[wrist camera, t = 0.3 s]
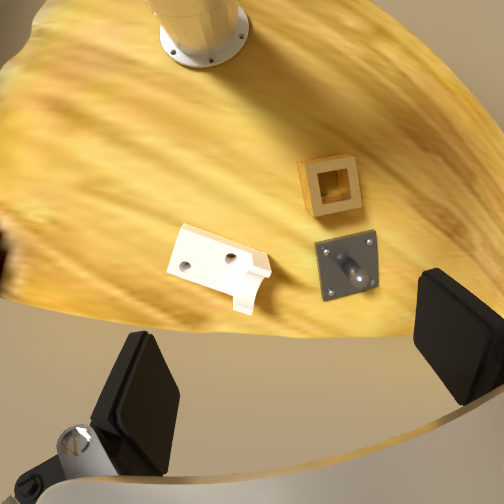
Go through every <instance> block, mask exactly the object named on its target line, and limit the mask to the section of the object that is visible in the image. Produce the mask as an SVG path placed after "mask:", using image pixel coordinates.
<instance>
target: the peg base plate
mask: <svg viewBox="0 0 504 504" xmlns="http://www.w3.org/2000/svg"><path fill="white" fill-rule="evenodd" d="M314 244H315V250H316V257H317V264H318V272H319V279H320V287H321V294H322V299H323V301H327V300H330V299H334V298H338V297H342V296H346V295H350V294H353V293H357V292H364V291H367V290H368V289H372V288H375V287H378V260H377V243H376V231H375V230H368V231H364V232H360V233H355V234H351V235H346V236H342V237H338V238H333V239H329V240H324V241H320V242H316V243H314Z"/></svg>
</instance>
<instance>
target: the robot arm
mask: <svg viewBox="0 0 504 504" xmlns="http://www.w3.org/2000/svg"><path fill="white" fill-rule="evenodd" d="M144 1H145V3H146V4H147V6H148V7H149V8H150V10H151V11H152V13H153V14H154V16H155V17H156V19H157V20H158V22H159V23H160V25H161V26H160V33H159V35H160V42H161V45H162V47H163V49H164V51H165V52H166V53H167V55H168V56H169V57H170V58H172V59H173V60H174V61H176V62H177V63H179V64H181V65H184V66H188V67H193V68H207V67H212V66H216V65H219V64H222V63H224V62H226V61H228V60H229V59H231V58H232V57H234V56H235V55H236V54H237V53H238V52H239V51H240V50H241V49H242V47H243V46H244V44H245V42H246V40H247V37H248V32H249V22H248V18H247V15H246V13H245V12H244V10H243V9H242V8H241V7H240V5H239V4H238V1H239V0H144ZM240 37H243V39H240ZM173 53H176V54H175V55H173ZM211 60H213V62H212V63H210V61H211ZM413 337H414V338H413V340H414V344H415V346H416V347H417V349H418V350H419V351H420V353H421V354H422V355H423V357H425V359H426V360H427V362H428V363H429V364H430V366H431V367H432V368H433V370H434V371H435V372H436V374H437V375H438V376H439V378H440V379H441V381H442V382H443V383H444V385H445V386H446V388H447V389H448V390H449V392H450V393H451V394H452V396H453V397H454V399H455V400H456V402H457V403H458V404H459V405H463V407H461V408H460V409H458V410H456V411H454V412H452V413H450V414H448V415H446V416H443V417H441V418H439V419H437V420H435V421H433V422H430V423H428V424H426V425H424V426H421V427H419V428H416V429H414V430H412V431H409V432H407V433H404V434H402V435H399V436H396V437H394V438H391V439H388V440H386V441H383V442H380V443H377V444H374V445H371V446H368V447H364V448H361V449H358V450H355V451H351V452H348V453H344V454H341V455H337V456H333V457H329V458H325V459H321V460H316V461H312V462H307V463H303V464H297V465H293V466H287V467H281V468H276V469H269V470H263V471H255V472H246V473H237V474H227V475H210V476H187V477H186V476H184V477H163V474H166V473H167V472H168V466H169V460H170V452H171V447H172V440H173V435H174V429H175V423H176V417H177V411H178V406H179V399H180V393H179V389H178V387H177V385H176V383H175V381H174V379H173V377H172V375H171V373H170V371H169V369H168V366H167V364H166V362H165V360H164V358H163V356H162V353H161V351H160V349H159V347H158V345H157V342H156V340H155V338H154V336H153V335H152V334H148V332H147V331H139V332H132V333H130V334H129V335H128V337H127V339H126V341H125V343H124V346H123V348H122V350H121V352H120V354H119V356H118V358H117V360H116V362H115V364H114V366H113V368H112V370H111V373H110V375H109V377H108V379H107V381H106V383H105V386H104V388H103V390H102V392H101V394H100V397H99V399H98V401H97V404H96V406H95V408H94V410H93V413H92V415H91V417H90V418H91V420H92V421H91V423H90V426H88V425H85V424H79V425H78V424H77V425H74V426H71V427H69V428H68V429H66V430H65V431H64V432H63V433H62V434H61V435H60V437H59V438H58V441H57V445H56V447H57V453H58V454H57V455H55V456H54V457H52V458H50V459H49V460H47V461H45V462H43V463H42V464H40V465H38V466H36V467H34V468H33V469H31V470H29V471H27V472H25V473H24V474H22V475H21V476H20V477H19V479H18V480H17V482H16V484H15V488H14V492H15V497H13V496H12V495H10V496H9V497H8V498H7V499H6V500H5V501H3V502H2V504H504V319H503V318H502V317H501V316H500V315H498V314H497V313H496V312H495V311H494V310H492V309H491V308H490V307H489V306H487V305H486V304H485V303H484V302H482V301H481V300H480V299H479V298H477V297H476V296H475V295H474V294H472V293H471V292H470V291H468V290H467V289H466V288H465V287H463V286H462V285H461V284H459V283H458V282H457V281H455V280H454V279H453V278H451V277H450V276H449V275H447V274H446V273H445V272H443V271H442V270H440V269H439V268H433V269H430V270H427V271H424V272H423V273H422V275H421V276H420V277H419V279H418V293H417V306H416V317H415V327H414V336H413Z"/></svg>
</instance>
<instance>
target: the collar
mask: <svg viewBox="0 0 504 504" xmlns="http://www.w3.org/2000/svg"><path fill="white" fill-rule="evenodd" d="M297 165H298V171H299V176H300V181H301V186H302V192H303V197H304V203H305V209H306V210H307V211H308V212H309V213H310V214H311V215H312V216H313V217H317V216H322V215H326V214H331V213H336V212H341V211H345V210H350V209H355V208H360V207H362V202H361V193H360V186H359V178H358V171H357V165H356V158H355V156H350V155H344V154H341V155H335V156H329V157H323V158H317V159H312V160H306V161H301V162H297ZM334 170H336V172H337V179H338V185H339V192H340V193H335V194H330V195H325V196H321V194H320V188H319V182H318V176H317V173H323V172H328V171H334Z"/></svg>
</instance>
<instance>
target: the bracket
mask: <svg viewBox="0 0 504 504" xmlns="http://www.w3.org/2000/svg"><path fill="white" fill-rule="evenodd" d="M229 253H233V254H235V255H236V257H234V258H228V257H227V256H226V255H227V254H229ZM185 262H188V263H189V264H186V263H185ZM271 272H272V271H271V267H270V264H269V260H268V256H267V253H264V252H261V251H259V250H256V249H253V248H250V247H248V246H245V245H242V244H240V243H237V242H234V241H232V240H229V239H226V238H223V237H221V236H218V235H215V234H213V233H210V232H207V231H204V230H202V229H199V228H196V227H194V226H191V225H188V224H185V223H184V224H183V225H182V227H181V229H180V232H179V235H178V238H177V241H176V244H175V247H174V250H173V253H172V256H171V259H170V262H169V266H168V269H167V273H170V274H173V275H176V276H178V277H181V278H184V279H187V280H189V281H192V282H195V283H198V284H201V285H203V286H206V287H209V288H212V289H215V290H218V291H221V292H224V293H227V294H230V295H232V296H233V310H235V311H238V312H241V313H244V314H247V315H250V316H251V314H252V312H253V306H254V300H255V297H256V293H257V291H258V288H259V286H260V284H261V282H262V280H263V279H264V278H265V277H267V278H269V277H270V275H271Z"/></svg>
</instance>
